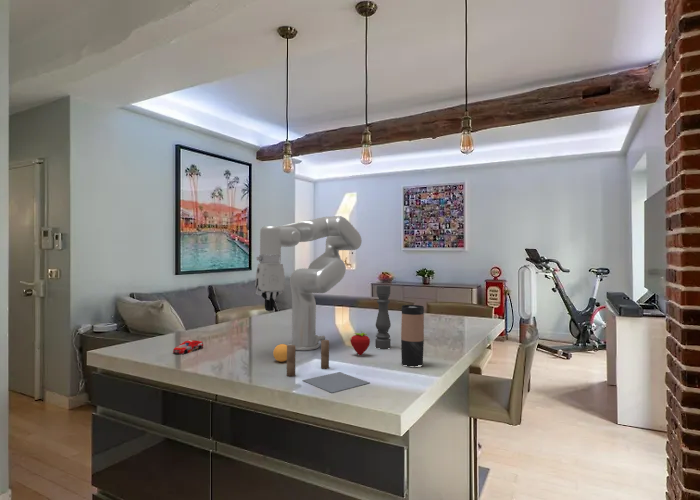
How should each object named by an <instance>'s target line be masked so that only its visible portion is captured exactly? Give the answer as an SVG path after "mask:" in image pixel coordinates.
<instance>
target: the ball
mask: <svg viewBox="0 0 700 500" xmlns="http://www.w3.org/2000/svg"><path fill="white" fill-rule="evenodd" d="M287 346H288V344H285V343H281V344H278V345H276V346H275V348H274V349H273V352H272V355H273V358H274V359H275V360H276V361H277V362H280V363H283V362H287Z"/></svg>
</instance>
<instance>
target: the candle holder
mask: <svg viewBox="0 0 700 500" xmlns="http://www.w3.org/2000/svg"><path fill="white" fill-rule="evenodd" d="M376 296H377V298H378V299H377V300H376V303H378V312H377V317H376V321H375V327H376V329H377V333H376V335H375V339H374V340H375V341H374V342H375V343H374V344H375V347H376V348H380V349H379V350H389V349H388V348H390V349H391V342H392V341H391V335H390V333H389V330H390V328H391V320H390V314H389V304H390V300H389V298H390V296H391V285H384V284H382V285H380V284H379V285H376ZM376 348H375V349H376Z"/></svg>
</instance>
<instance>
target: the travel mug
mask: <svg viewBox="0 0 700 500" xmlns="http://www.w3.org/2000/svg"><path fill="white" fill-rule="evenodd" d="M424 308H425V307H424V306H423V305H420V304H418V305H417V304H407V305H406V304H404V305H401V322H400V323H401V328H400V331H401V333H400V334H401V335H400V336H401V337H400V338H401V339H400V347H401V348H400V350H401V365H402V364H403V365H407V366H418V365H422V364H423V365H424V345H425V343H424V342H425V339H424V338H425V337H424V336H425V334H424V333H425V329H424V328H425V325H424V324H425V323H424V322H425V321H424V320H425V319H424V318H425V316H424V315H425V312H424V311H425V309H424ZM403 365H402V366H403Z"/></svg>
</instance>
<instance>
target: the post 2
mask: <svg viewBox="0 0 700 500" xmlns="http://www.w3.org/2000/svg"><path fill="white" fill-rule="evenodd" d="M320 345H321V346H320V369H322V370H328V369H330V340H328V339H325V340H321V341H320Z"/></svg>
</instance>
